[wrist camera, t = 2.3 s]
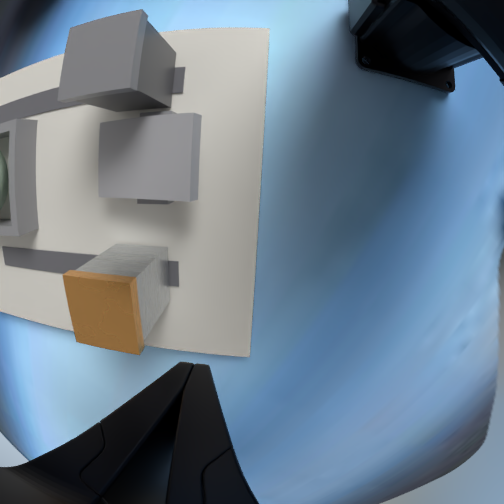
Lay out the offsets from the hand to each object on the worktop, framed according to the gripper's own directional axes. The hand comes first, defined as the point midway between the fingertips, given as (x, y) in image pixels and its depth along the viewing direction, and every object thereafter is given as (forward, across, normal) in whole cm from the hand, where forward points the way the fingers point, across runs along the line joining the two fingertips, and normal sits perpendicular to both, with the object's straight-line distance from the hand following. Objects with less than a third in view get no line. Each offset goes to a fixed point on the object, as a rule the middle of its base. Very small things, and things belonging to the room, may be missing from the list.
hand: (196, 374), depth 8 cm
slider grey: (+8, +5, -10) cm, 13 cm away
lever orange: (+8, +5, 0) cm, 9 cm away
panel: (+9, +10, -4) cm, 14 cm away
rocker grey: (+6, +4, -6) cm, 9 cm away
